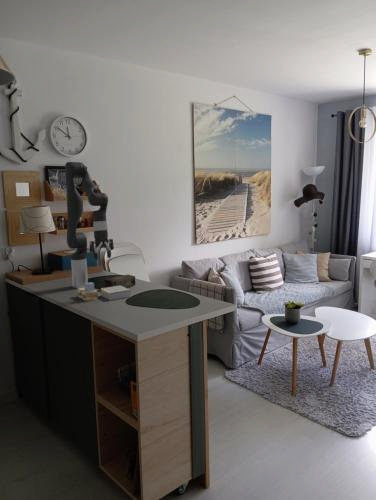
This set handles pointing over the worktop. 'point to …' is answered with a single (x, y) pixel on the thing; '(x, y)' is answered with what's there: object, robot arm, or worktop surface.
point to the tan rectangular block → (87, 294)
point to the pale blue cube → (89, 286)
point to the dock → (115, 292)
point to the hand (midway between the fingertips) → (102, 258)
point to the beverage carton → (120, 281)
